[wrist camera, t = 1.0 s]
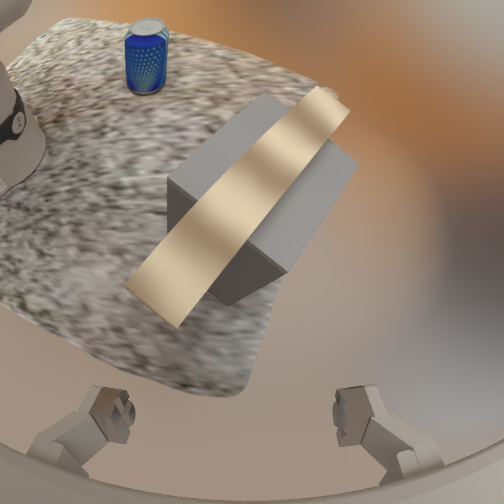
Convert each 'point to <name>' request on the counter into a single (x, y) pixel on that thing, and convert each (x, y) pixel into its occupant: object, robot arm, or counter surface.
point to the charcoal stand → (280, 216)
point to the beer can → (146, 55)
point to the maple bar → (233, 209)
